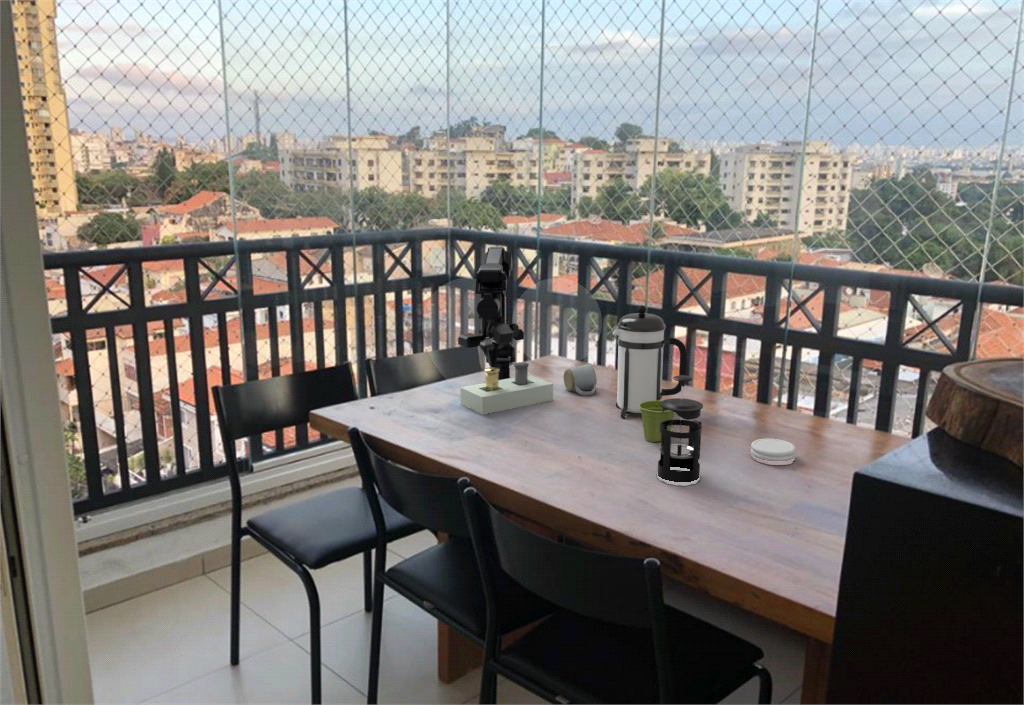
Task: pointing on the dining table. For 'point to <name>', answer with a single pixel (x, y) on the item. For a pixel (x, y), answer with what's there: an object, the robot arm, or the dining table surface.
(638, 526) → the dining table surface
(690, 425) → the french press
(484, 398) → the block
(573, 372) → the ceramic mug
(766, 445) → the coaster
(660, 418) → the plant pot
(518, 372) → the graphite plug
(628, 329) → the coffee press
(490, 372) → the brass plug
